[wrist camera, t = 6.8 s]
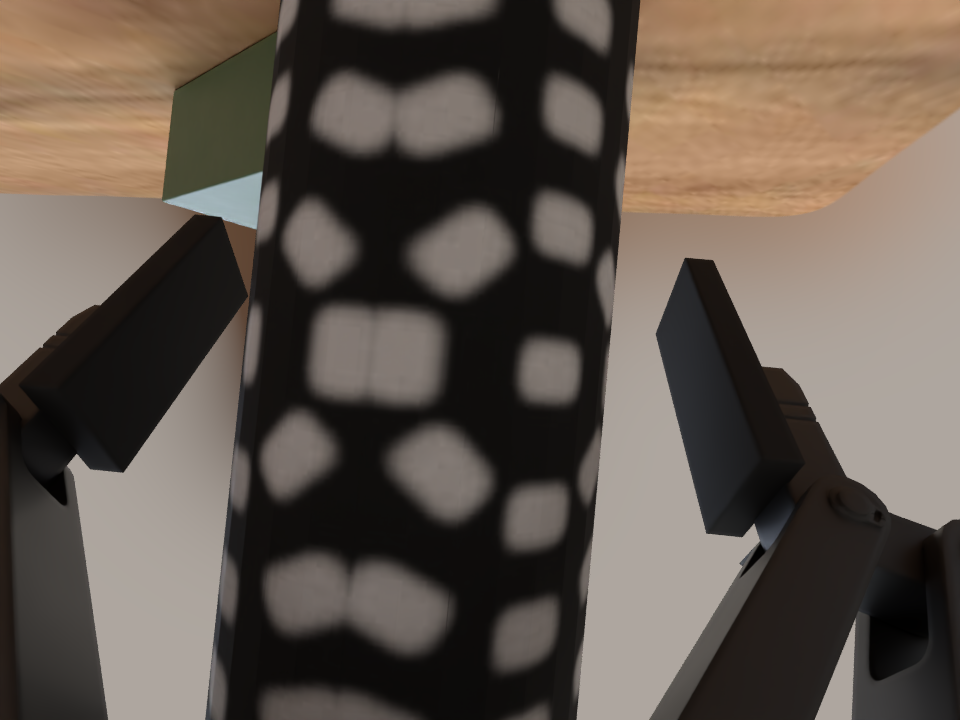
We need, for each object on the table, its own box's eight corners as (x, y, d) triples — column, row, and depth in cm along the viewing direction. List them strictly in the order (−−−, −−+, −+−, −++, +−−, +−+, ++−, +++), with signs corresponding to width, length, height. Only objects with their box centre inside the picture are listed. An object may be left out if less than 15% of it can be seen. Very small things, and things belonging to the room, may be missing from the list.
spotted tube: (728, -136, 12) (653, 736, 11) (501, 35, 18) (449, 587, 18) (416, -559, 7) (261, 974, 6) (261, -113, 13) (180, 645, 13)
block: (363, 179, 34) (355, 259, 34) (173, 91, 25) (161, 201, 25) (510, 145, 27) (500, 246, 27) (323, 2, 18) (306, 158, 17)
